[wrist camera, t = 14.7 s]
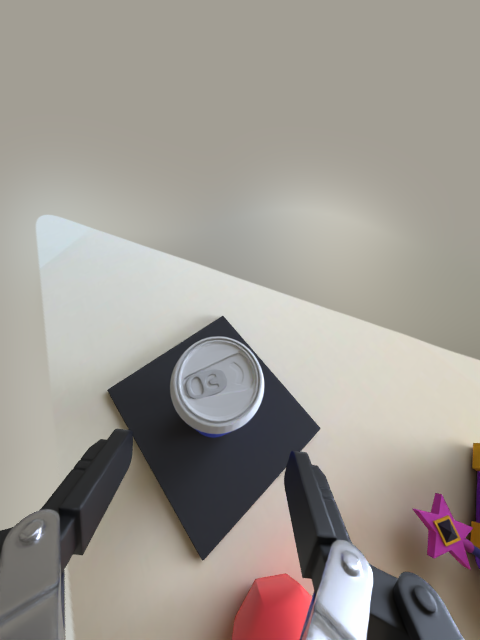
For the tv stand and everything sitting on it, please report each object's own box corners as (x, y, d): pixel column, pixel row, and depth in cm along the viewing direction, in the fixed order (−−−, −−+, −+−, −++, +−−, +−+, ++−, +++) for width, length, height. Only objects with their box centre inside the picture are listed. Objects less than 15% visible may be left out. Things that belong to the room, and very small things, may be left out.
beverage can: (229, 381, 26) (248, 322, 13) (244, 427, 24) (284, 410, 11) (186, 395, 25) (158, 345, 12) (197, 445, 23) (179, 451, 10)
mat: (202, 558, 19) (202, 561, 19) (109, 391, 25) (106, 389, 24) (318, 428, 25) (320, 428, 25) (222, 317, 31) (223, 315, 30)
